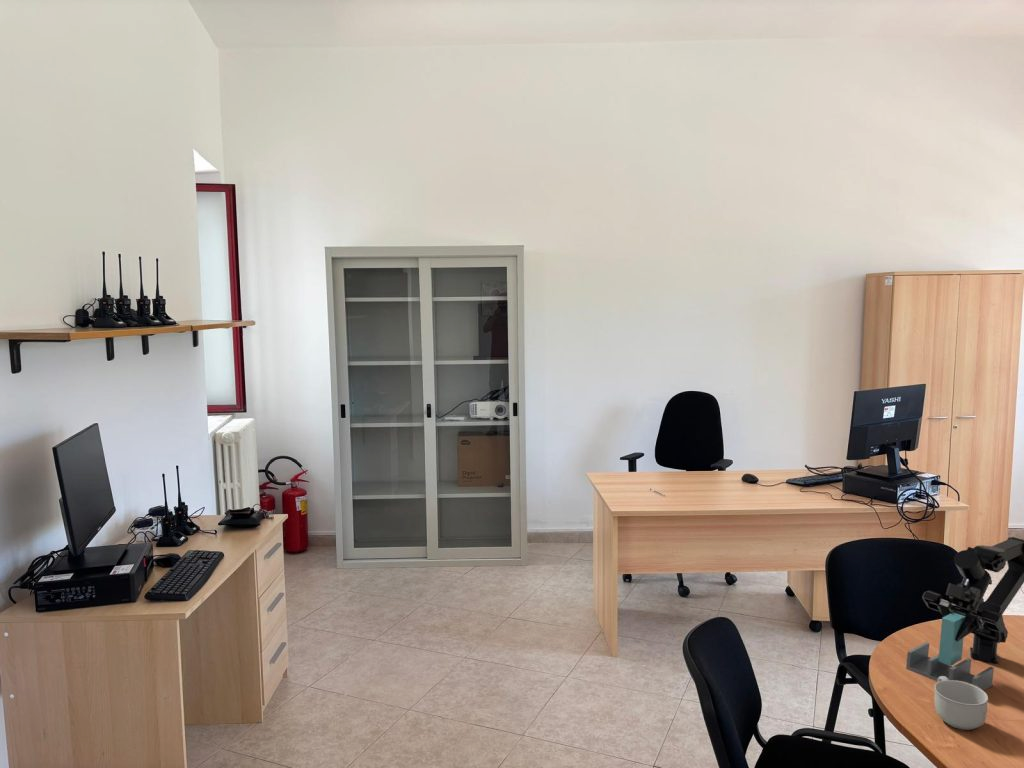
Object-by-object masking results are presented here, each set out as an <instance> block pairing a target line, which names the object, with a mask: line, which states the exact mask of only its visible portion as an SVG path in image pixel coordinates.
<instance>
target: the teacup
mask: <svg viewBox="0 0 1024 768" xmlns="http://www.w3.org/2000/svg"><path fill="white" fill-rule="evenodd" d="M933 688H934V710H935V713H937V716H939V718H940V719H941V720H943V722H945V723H946V724H947V725H948V726H950V727H952V728H956V729H957V730H958V729H959V730H963V731H964V730H965V731H970V730H975V729H977V728H980V727H981V726H983V725H984V724H985V722H986V719H987V715H988V714H987V713H988V712H987V711H988V701H989V696H988V694H987V693H986V692H985V690H984V691H983V690H982V689H980V688H978V687H977V686H974V685H972V684H969V683H966V682H962V681H956V680H949V679H948V678H947V677H945V676H940V677H939V678H938V681H936V683H934V687H933Z"/></svg>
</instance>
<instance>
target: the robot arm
mask: <svg viewBox="0 0 1024 768" xmlns="http://www.w3.org/2000/svg"><path fill="white" fill-rule="evenodd" d="M953 561H954V564H955V566H956V568H957V570H958V571H959V574H960V575H961V576H962V577H963V578H962V581H961V582H958V583H957V584H953V583H951V582H949V583H948V586H947V588H946V593H945V595H946V596H949V597H948V599H949V601H948V600H946V599H944V597H943V596H942V594H940V593H937V592H935V591H931V590H927V591H924V592H923V594H922V597H921V599H922V601H923V602H924V603H925V606H926V607H927V608H928V609H931V610H933V611H935V612H939V613H940V615H941V619H942V618H943V617H945V616H947V615H949V614H951V613H953V612H954V613H957V614H960V615H963V616H965V620H964V622H963V624H962V626H961V628H960V629H959V631H958V633H957V635H956V638H955V640H956V641H957V642H958V641H959V640H961V639H962V638H963V639H964V638H965V637H967V636H968V635H970V634H973V639H972V647H969V653H970V654H969V655H970V659H971V658H972V659H975V660H980V661H983V662H990V663H992V664H999V663H1000V661H999V657H998V644H1001V643H1003V644H1004V643H1006V641H1007V639H1008V633H1009V632H1008V629H1007V628H1006V626H1005V625H1006V624H1005V622H1004V621H1005V620H1004V617H1003V615H1004V613H1005V612H1006V609H1008V607H1009V606H1010V604H1011V602H1012V601H1013V599H1014V598H1015V596H1016V595H1017V593H1018V592H1019V591H1020V589H1021V588H1022V586H1023V585H1024V539H1023V538H1019V537H1015V536H1012V537H1011V536H1010V537H1009V536H1008V538H1007V539H1006V540H1003V541H1001V542H998V543H997V544H993V545H982V544H981V545H980V544H979V545H976V546H974V547H971V546H967V548H966V549H964V550H960V551H958V552H957V553H956V554H954V556H953ZM1006 564H1007V567H1008V569H1007V570H1006V572H1005V573H1004V574H1003V575H1002V577H1001V579H1000V580H999V581H998V583H997V585H996V586H995V587H994V588H993V590H992V592H991V593H990V594H989V596H988V597H987V599H986V600H985V599H984V596H985V594H986V591H987V590H988V588H989V585H992V584H993V580H992V576H991V574H990V573H989V572H993V573H999V572H1001V571H1002V570H1003V569H1004V568H1005V567H1006ZM988 571H989V572H988ZM984 600H985V601H984ZM951 601H952V602H951Z"/></svg>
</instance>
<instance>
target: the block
mask: <svg viewBox="0 0 1024 768" xmlns="http://www.w3.org/2000/svg"><path fill="white" fill-rule="evenodd" d="M964 620H965V615H964V614H961V613H958V612H955V611H953V612H952V613H951V614H949V615H947V616H945V617H943V618H942V617H941V627H940V638H939V639H940V640H939V650H938V651H939V652H938V654H939V662H942V663H944V664H947V665H949V666H954V665H956V663H959V662H961V661H962V658H963V646H964V638H962V639H961V640H959V641H958V642H957V641H956V640H955V638H956V635H957V633H958V631H959V629H960V628H961V626H962V624H963V622H964Z"/></svg>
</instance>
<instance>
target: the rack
mask: <svg viewBox="0 0 1024 768" xmlns="http://www.w3.org/2000/svg"><path fill="white" fill-rule="evenodd" d="M929 650H930V642H927V641H925V642H924V643H921V644H920V645H917V646H916V647H913V648H912V649H910V650H908V651H907V655H906V668H905V669H907V670H909V671H910V672H914V673H916V674H918V675H921V676H924V677H926V678H928V679H930V680H933V681H936V682H937V681H938V678H939V677H940V676H945V677H947V678H948V679H949V680H956V681H962V682H966V683H969V684H972V685H974V686H977V687H978V688H980V689H982V690H983V691H984V692H985V691H986V690H987V689H989V688H990V687H992V686H993V680H994V673H995V672H994V669H995V667H993V666H989V667H987V668H986V669H984V670H982V671H980V672H979V673H978V674H976V675H975V674H972V673H971V668H972V667H971V666H972V659H971V657H967V658H965V659H963V660H961V661H959V662H957V664H954V665H951V666H949V665H947V664H944V663H942V662H939V653H938V654H935V656H932V657H930V656H929V653H930V652H929Z"/></svg>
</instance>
